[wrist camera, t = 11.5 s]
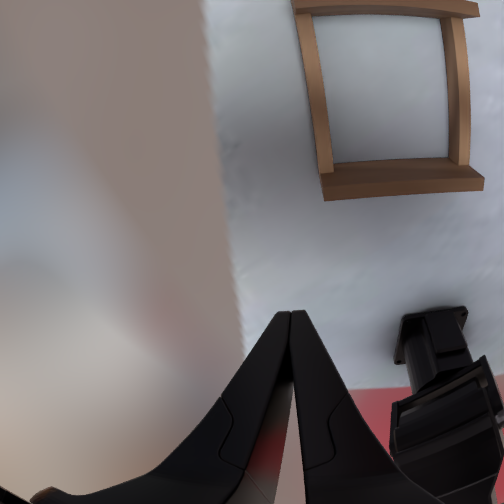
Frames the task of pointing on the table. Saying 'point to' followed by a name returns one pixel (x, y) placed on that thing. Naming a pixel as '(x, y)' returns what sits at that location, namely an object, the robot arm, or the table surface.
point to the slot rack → (398, 170)
